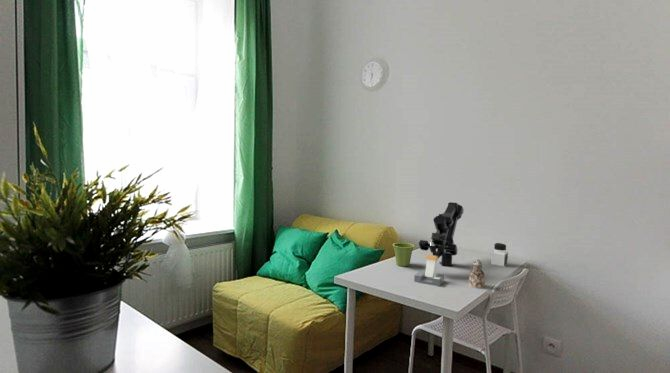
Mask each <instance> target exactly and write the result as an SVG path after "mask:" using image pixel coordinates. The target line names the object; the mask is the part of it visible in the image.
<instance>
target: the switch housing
mask: <svg viewBox="0 0 670 373" xmlns="http://www.w3.org/2000/svg"><path fill="white" fill-rule="evenodd" d="M413 279H414V280H413V281H414V282H416V283H422V284H427V285H432V286H437V287H440V286H441V285H442V284H443V282H445V274H443V273H436V274H435V275H434V278H431V277H425V270H419V271H418V272H417V273H415V274H414V278H413Z"/></svg>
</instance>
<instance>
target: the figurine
mask: <svg viewBox="0 0 670 373" xmlns="http://www.w3.org/2000/svg"><path fill="white" fill-rule="evenodd" d="M482 267H483V263H482V262H481V261H480V259H477V260H474V261H473V263H472V269H471V270H470V273H469V276H468V286H470V287H471V288H475V289H483V288H485V284H486V278H485V272H484V271H483V270H482V269H483V268H482Z"/></svg>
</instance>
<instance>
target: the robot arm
mask: <svg viewBox="0 0 670 373" xmlns="http://www.w3.org/2000/svg"><path fill="white" fill-rule="evenodd" d="M464 210H465V209H464V207H463V205H461V204H459V203H458V202H451V201H450V202H448V203H447V207H446V208H445V211H444V213H443V212H442V213H438V215H437V216H435V217H433V224H434V228H435V230H436V232H431V237H430V238H431V242H428V240H425V239H420V240H419V241H418V245H419V246H418V247H419V248H420V250H422V251H428V250H430V253H432V255H434V256H438V259H439V258H440V257H441V258H440V259H441V261H439V264H440V265H441V266H443V267H454V266H455V265H454V263H453V256H456V255H458V246H457V244H456V243H455V242H454V235H455V232H456V229H457V228H456V227H457V223H458V221H459V220H460V219H461V218H462V216H463V214H464V212H465V211H464Z"/></svg>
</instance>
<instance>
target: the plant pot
mask: <svg viewBox="0 0 670 373" xmlns="http://www.w3.org/2000/svg"><path fill="white" fill-rule="evenodd" d="M392 246H393V250H394V257H395V262H396V263H395V264H396V265H397V266H398V267H409V266H410V264H411V259H412V253H413V250H414V247H415V245H414V244H413V243H408V242H407V243H406V242H394V243H392Z"/></svg>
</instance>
